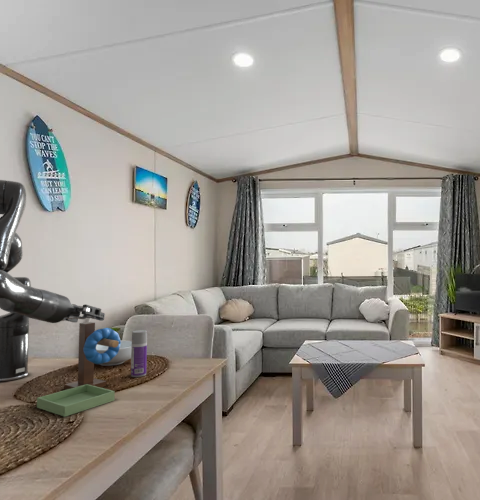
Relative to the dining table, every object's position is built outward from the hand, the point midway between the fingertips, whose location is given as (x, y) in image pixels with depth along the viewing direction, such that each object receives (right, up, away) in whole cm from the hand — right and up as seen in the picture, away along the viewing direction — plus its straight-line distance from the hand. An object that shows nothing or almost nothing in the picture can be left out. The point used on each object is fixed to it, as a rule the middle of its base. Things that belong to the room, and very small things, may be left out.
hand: (90, 318), depth 117 cm
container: (+5, -23, +18) cm, 29 cm away
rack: (0, -22, +2) cm, 22 cm away
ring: (+3, -9, +1) cm, 9 cm away
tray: (+2, -22, -9) cm, 24 cm away
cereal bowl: (-13, -23, +32) cm, 41 cm away
